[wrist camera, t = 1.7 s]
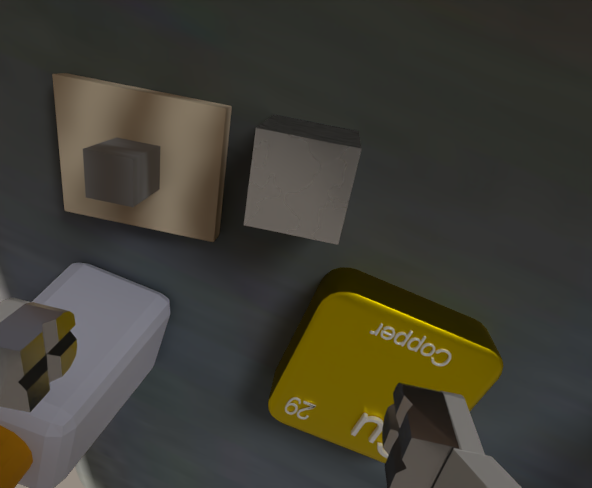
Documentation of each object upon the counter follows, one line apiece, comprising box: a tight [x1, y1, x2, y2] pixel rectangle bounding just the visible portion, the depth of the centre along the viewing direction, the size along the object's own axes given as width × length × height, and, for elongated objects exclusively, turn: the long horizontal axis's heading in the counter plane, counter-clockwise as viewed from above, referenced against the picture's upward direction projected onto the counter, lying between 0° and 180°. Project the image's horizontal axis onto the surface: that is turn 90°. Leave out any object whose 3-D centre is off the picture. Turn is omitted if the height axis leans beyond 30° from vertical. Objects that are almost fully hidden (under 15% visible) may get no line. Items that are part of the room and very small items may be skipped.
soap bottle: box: [0, 263, 170, 488], centre depth 28 cm, size 10×14×22 cm
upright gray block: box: [244, 115, 361, 245], centre depth 26 cm, size 6×6×6 cm
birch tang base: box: [52, 73, 232, 242], centre depth 28 cm, size 12×10×6 cm
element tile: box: [268, 268, 503, 463], centre depth 34 cm, size 15×15×5 cm
